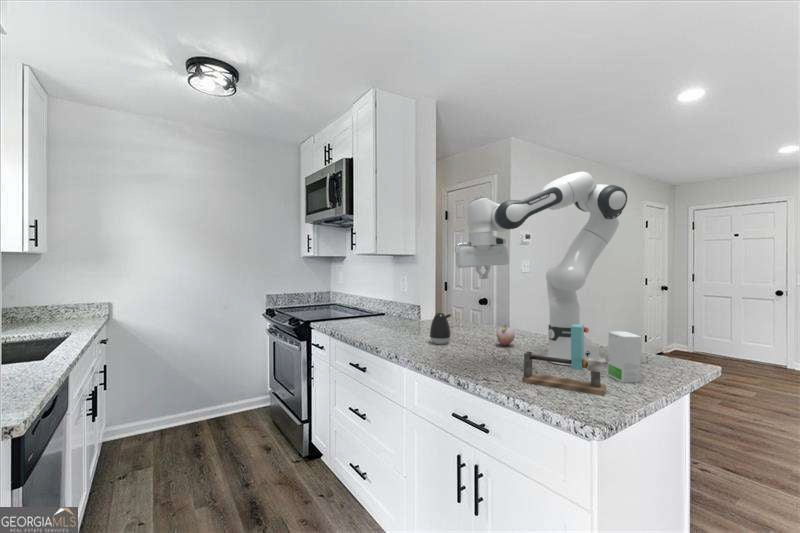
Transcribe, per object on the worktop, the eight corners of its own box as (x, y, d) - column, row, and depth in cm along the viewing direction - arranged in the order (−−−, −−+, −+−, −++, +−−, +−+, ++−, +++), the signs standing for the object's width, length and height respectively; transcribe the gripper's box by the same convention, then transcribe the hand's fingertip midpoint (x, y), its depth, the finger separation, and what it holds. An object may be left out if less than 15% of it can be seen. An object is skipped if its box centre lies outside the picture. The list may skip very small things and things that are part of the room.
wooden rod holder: (522, 382, 127) (522, 353, 127) (527, 376, 133) (527, 349, 133) (603, 395, 114) (603, 363, 114) (605, 388, 120) (605, 358, 120)
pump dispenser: (452, 345, 182) (452, 314, 181) (430, 345, 182) (430, 314, 182) (449, 341, 192) (449, 311, 192) (429, 341, 192) (428, 311, 192)
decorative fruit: (515, 348, 175) (515, 326, 174) (497, 347, 176) (497, 326, 176) (513, 344, 184) (513, 323, 184) (496, 343, 185) (496, 323, 185)
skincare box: (607, 375, 133) (606, 331, 133) (624, 374, 134) (624, 330, 133) (623, 383, 125) (623, 336, 125) (642, 382, 125) (642, 335, 125)
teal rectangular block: (571, 369, 120) (570, 326, 119) (573, 365, 124) (573, 324, 124) (581, 371, 118) (581, 327, 118) (583, 367, 122) (583, 324, 122)
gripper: (458, 242, 137) (461, 280, 136) (509, 239, 141) (512, 276, 141) (451, 243, 143) (454, 280, 143) (501, 241, 148) (504, 276, 147)
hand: (483, 278), depth 142 cm, fingers closed
